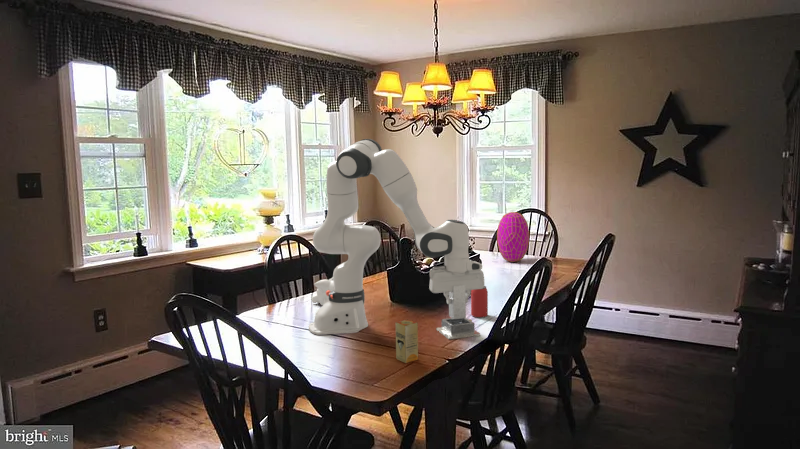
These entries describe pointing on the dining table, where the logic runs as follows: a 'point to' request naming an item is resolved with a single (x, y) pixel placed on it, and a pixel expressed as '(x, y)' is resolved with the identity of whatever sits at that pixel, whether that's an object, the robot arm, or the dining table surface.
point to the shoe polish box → (407, 341)
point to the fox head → (323, 291)
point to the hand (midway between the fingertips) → (457, 302)
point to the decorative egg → (513, 236)
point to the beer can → (479, 302)
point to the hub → (457, 328)
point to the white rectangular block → (458, 302)
